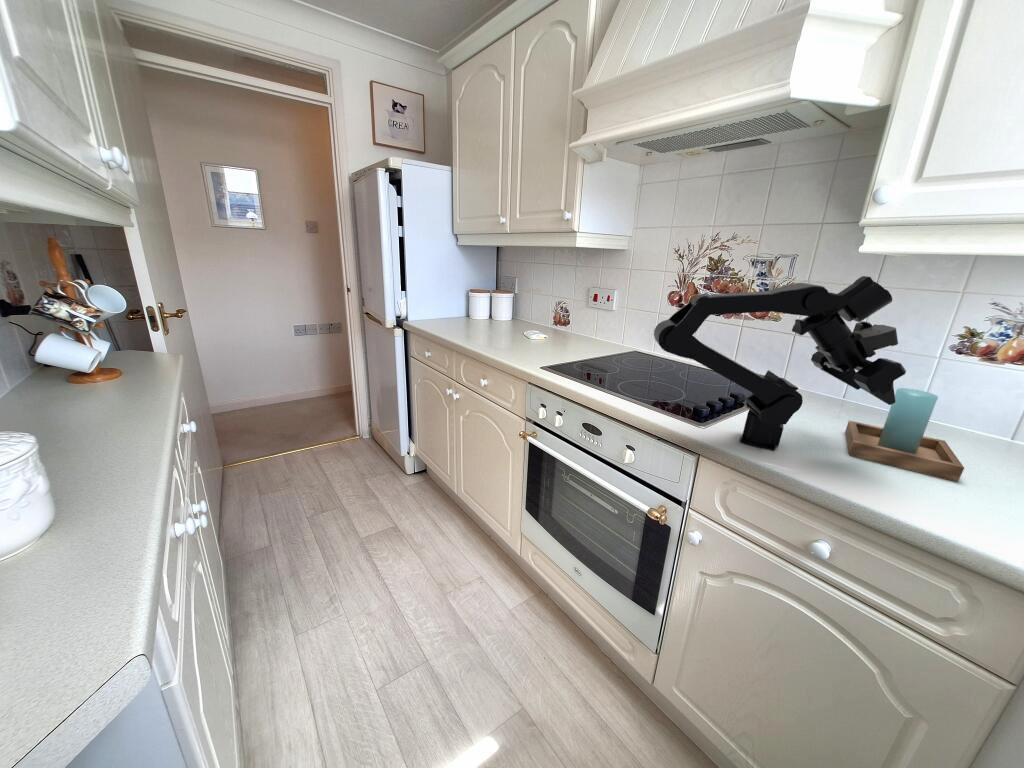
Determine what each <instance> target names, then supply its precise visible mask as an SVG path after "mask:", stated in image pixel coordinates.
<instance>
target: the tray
mask: <svg viewBox="0 0 1024 768" xmlns="http://www.w3.org/2000/svg"><path fill="white" fill-rule="evenodd" d="M882 430H883V427H882V426H877V425H873V424H872V425H871V424H867V423H863V422H857V421H853V420H848V422H847V425H846V428H845V431H844V434H845V439H846V444H847V446H846V447H847V450H848V455H849V456H850V457H856V458H860V459H864V460H868V461H871V462H874V463H875V462H876V463H880V464H882V465H883V464H884V465H887V466H892V467H896V468H900V469H903V470H908V471H912V472H915V473H920V474H923V475H924V474H925V475H928V476H931V477H935V478H940V479H945V480H948V481H952V482H955V483H958V482H959V481H960V478H961V476H962V474H963V472H964V470H965V466H964V465H963V464H962V462H961V461H960V459H959V458H958V456H957V455H956V454H955V453H954V451H953V450H952V449H951V447H950V445H949V444H948V443H947V442H946V440H942V439H939V438H933V437H929V436H924V435H923V437H922V440H921V443H920V445H919V448H918V450H917V453H916V454H912V453H907V452H903V451H899V450H894V449H890V448H886V447H881V446H878V445H877V444H878V442H879V439H880V436H881V433H882Z"/></svg>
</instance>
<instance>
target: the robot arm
mask: <svg viewBox="0 0 1024 768" xmlns="http://www.w3.org/2000/svg"><path fill="white" fill-rule="evenodd" d="M892 302H893V296H892V294H891V293H890V291H889V290H888V289H885V287H883V286H882V285H881V284H879V283H878V282H877V281H874V280H873V279H872V277H871V276H866V275H862V276H860V277H858V278H857V279H856V280H855V281H854V282H853V283H852V284H850V285H849V286H847V287H846V288H844V289H842V290H841V291H839V292H838V293H834V292H831V291H830V292H829V291H828V289H826V288H825V286H823V285H818V284H814V283H813V284H812V283H808V282H807V283H806V282H797V283H792V284H787V285H783V286H780V287H777V288H773V289H770V290H765V291H763V290H762V291H748V292H747V291H746V292H734V293H732V292H731V293H718V294H717V293H715V294H713V293H712V294H706V293H700V294H696V295H695V296H694V297H693V298H692V299H690V301H689V302H688V303H686V304H685V305H684V306H682V307H681V308H680V309H678V310H677V311H676V312H674V313H673V314H672V315H671V316H670V317H669V318H668V319H665V320H662V321H660V322H659V323H658V324H657V325H656V326H655V328H654V330H653V337H654V340H655V342H657V344H658V346H659V347H660V348H661V349H662V350H663V351H665V352H667V353H669V354H671V355H675V356H678V357H681V358H684V359H689V360H692V361H695V362H696V363H698V364H700V365H702V366H704V367H706V368H707V369H709V370H710V371H712V372H714V373H716V374H718V375H720V376H722V377H724V378H726V380H729V381H731V382H732V383H735V384H736V385H738V386H739V387H741V388H744V389H745V390H747V391H749V392H750V393H752V394H750V395H749V396H748V397H745V399H744V400H745V402H744V403H745V405H746V406H745V407H746V408H747V409H749V410H748V411H747V415H746V419H745V423H744V427H743V432H742V434H741V437H740V440H739V442H740V443H742V444H746V445H750V446H753V447H757V448H762V449H765V450H769V451H773V452H774V451H776V448H777V447H779V445H780V442H781V438H782V435H783V431H784V427H785V425H787V423H788V422H789V421H790V420H791V418H792V417H793V416H794V414H795V413H796V412H798V411H799V410H800V409H801V407H802V405H803V403H804V402H803V396H802V394H801V393H800V392H799V391H798V390H799V387H798V386H796V385H795V384H793V383H792V382H790V381H788V380H786V378H784V377H781V376H778V375H776V374H775V373H774V372H772V371H771V370H769V369H768V370H767V371H766V373H765V374H759V373H756V372H755V371H753V370H752V369H749V368H747V367H745V366H744V365H742V364H740V363H739V362H737V361H735V360H733V359H731V358H729V357H728V356H726V355H724V354H722V353H721V352H719V351H718V350H715V349H714V348H712V347H711V346H709V345H707V344H705V343H703V342H701V341H700V340H699V339H697V338H696V336H694V334H696V333H697V331H698V330H699V329H700V328H701V326H702V324H703V323H704V322H705V321H706V320H707V319H708V317H710V316H712V315H730V314H749V313H751V314H752V313H769V312H774V313H779V314H787V315H795V316H802V317H805V318H803V319H802V318H801V319H800V318H799V319H798V318H797V319H795V320H794V325H793V326H792V329H791V332H792V333H794V334H797V335H800V336H804V335H805V334H807V333H808V334H809V336H810V337H811V339H812V340H813V341H814V343H815V344H816V346H814V347H815V350H816V352H814V353H812V356H811V358H810V361H811V362H812V363H813V365H814V366H815V367H816V368H818V369H819V370H820V371H822V372H824V373H826V374H828V375H830V376H832V377H833V378H836V379H837V380H839V381H841V382H842V383H844V384H846V385H848V386H850V387H852V388H853V389H855V390H863V391H864V392H866V393H868V394H869V395H872V396H874V397H875V398H877V399H878V400H880V401H881V402H883V403H884V404H887V405H889V406H891V405H892V404H893V403H895V402H896V401H895V389H894V381H895V380H897V379H899V378H901V377H903V376H905V375H906V373H907V370H906V369H905V367H904V366H903V364H902V363H900V362H898V361H895V360H892V359H888V358H881V357H879V358H877V359H875V360H874V361H872V360H869V359H870V358H872V357H873V356H875V355H876V354H877V353H876V351H877V350H881V349H884V348H888V347H895V346H898V344H899V340H898V333H897V328H896V327H894V326H890V325H886V324H873V325H872V323H871V322H868V321H864V320H865V319H866V318H869V317H870V316H872V315H873V314H875V313H876V312H878V311H880V310H881V309H884V307H886V306H888V305H889V304H891V303H892ZM845 321H846V322H852V321H854V322H856V323H855V325H854V328H853V330H851V329H850V327H849V326H848V325H847V323H846V322H845ZM868 358H869V359H868Z"/></svg>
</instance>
